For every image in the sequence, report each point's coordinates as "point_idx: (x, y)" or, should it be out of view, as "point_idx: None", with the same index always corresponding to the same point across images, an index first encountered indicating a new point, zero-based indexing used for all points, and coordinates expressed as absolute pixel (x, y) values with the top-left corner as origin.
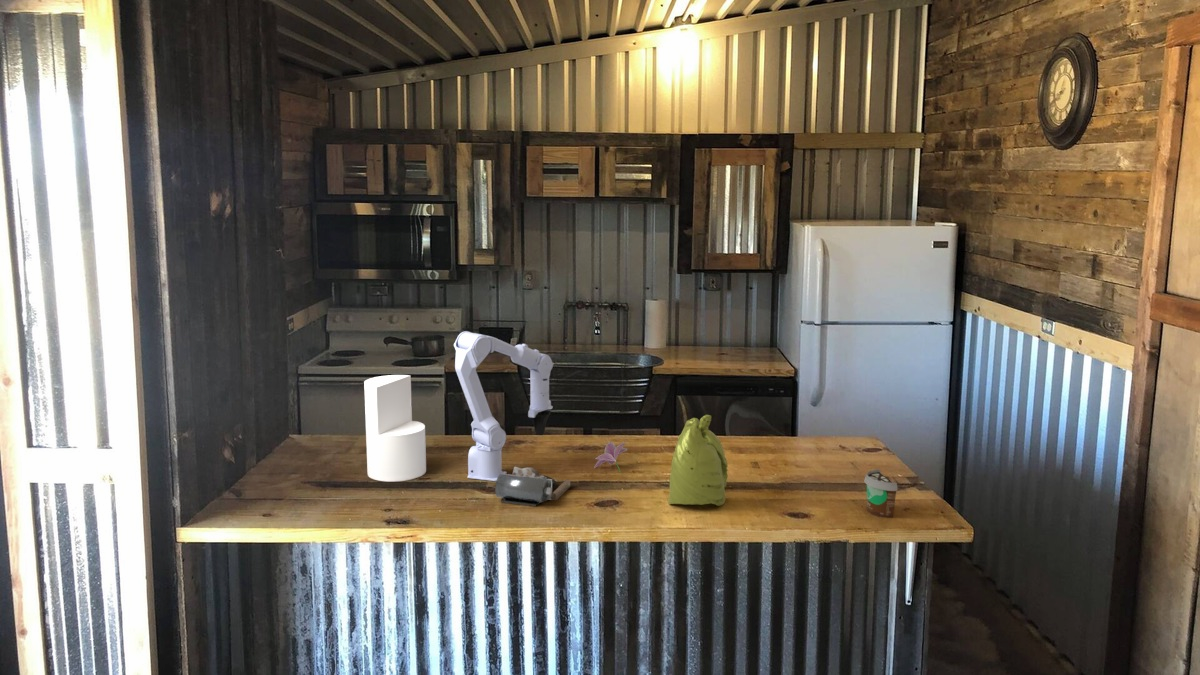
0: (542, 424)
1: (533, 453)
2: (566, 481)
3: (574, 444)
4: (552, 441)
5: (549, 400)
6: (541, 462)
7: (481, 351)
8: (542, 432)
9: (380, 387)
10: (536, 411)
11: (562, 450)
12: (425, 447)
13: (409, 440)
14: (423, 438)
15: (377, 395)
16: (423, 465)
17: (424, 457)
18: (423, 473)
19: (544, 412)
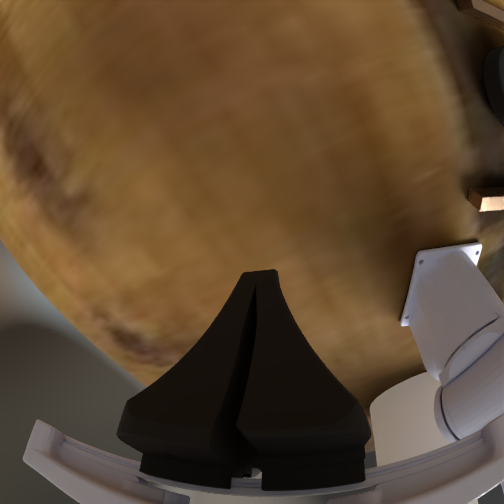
0: (302, 338)
1: (171, 274)
2: (485, 7)
3: (31, 210)
4: (59, 275)
5: (33, 466)
6: (246, 200)
7: None
8: (277, 282)
9: None
10: (496, 475)
11: (84, 208)
12: (420, 419)
13: None
14: (440, 434)
15: (476, 500)
16: (430, 386)
17: (429, 400)
18: (427, 372)
19: (229, 462)
